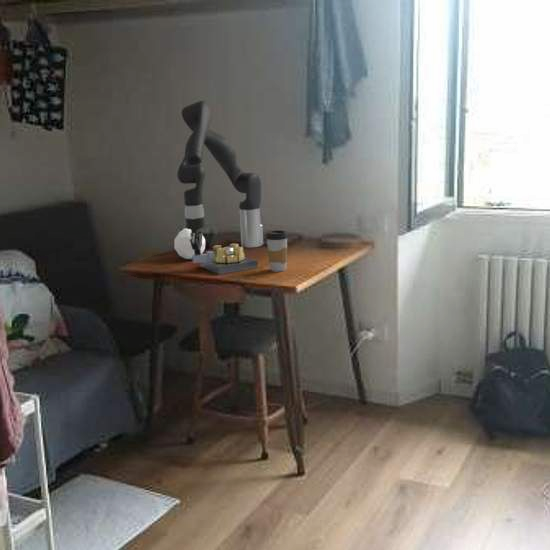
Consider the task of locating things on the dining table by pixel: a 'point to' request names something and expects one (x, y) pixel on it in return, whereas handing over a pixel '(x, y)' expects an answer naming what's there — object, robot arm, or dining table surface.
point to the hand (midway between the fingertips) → (198, 258)
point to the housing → (230, 264)
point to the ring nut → (220, 255)
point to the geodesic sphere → (186, 244)
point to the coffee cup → (277, 250)
